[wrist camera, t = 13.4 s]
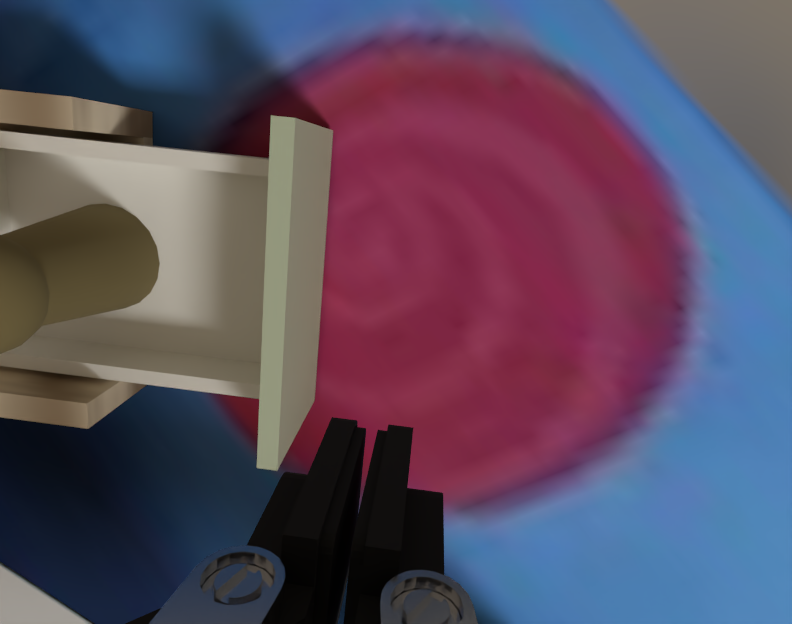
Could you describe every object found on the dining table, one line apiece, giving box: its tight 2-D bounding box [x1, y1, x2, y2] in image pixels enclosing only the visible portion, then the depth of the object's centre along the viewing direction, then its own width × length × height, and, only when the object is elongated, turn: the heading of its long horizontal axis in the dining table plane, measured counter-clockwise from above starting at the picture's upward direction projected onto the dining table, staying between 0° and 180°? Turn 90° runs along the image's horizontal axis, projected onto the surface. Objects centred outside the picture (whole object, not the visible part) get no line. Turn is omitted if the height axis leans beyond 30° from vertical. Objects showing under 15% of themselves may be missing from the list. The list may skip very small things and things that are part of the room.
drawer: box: [0, 115, 333, 471], centre depth 29 cm, size 18×16×8 cm
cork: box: [0, 204, 160, 354], centre depth 26 cm, size 6×6×11 cm
